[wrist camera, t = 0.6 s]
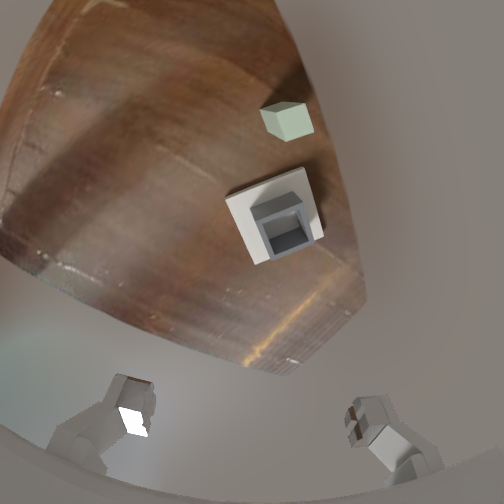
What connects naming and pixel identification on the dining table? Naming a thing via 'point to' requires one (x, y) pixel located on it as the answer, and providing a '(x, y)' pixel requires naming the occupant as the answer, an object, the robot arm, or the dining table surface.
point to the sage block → (287, 120)
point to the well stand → (276, 215)
